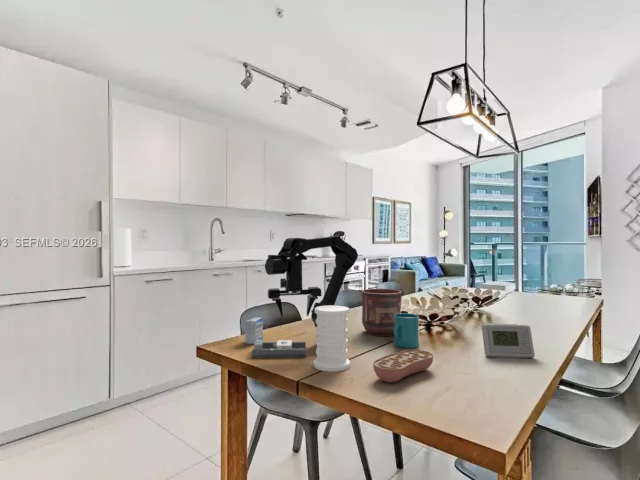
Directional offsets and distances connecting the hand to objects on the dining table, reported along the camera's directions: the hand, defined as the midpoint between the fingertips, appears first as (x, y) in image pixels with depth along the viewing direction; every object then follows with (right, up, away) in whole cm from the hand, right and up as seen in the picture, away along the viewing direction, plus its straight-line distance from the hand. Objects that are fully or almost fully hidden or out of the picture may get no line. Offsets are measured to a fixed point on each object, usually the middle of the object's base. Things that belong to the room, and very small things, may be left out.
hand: (294, 316), depth 133 cm
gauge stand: (-5, -12, -3) cm, 13 cm away
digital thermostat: (+73, -13, -5) cm, 74 cm away
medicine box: (-17, -13, +13) cm, 25 cm away
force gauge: (-4, -11, -3) cm, 12 cm away
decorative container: (+13, -12, -16) cm, 24 cm away
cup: (+41, -13, +7) cm, 43 cm away
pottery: (+35, -13, +28) cm, 47 cm away
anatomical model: (+33, -13, -24) cm, 43 cm away
